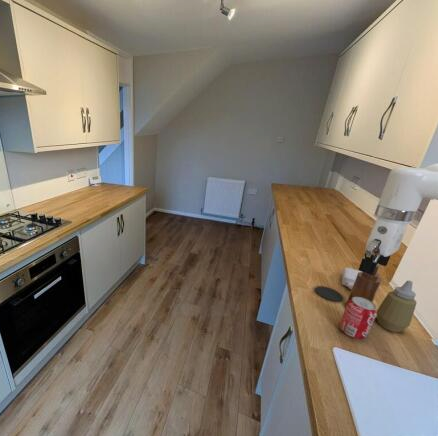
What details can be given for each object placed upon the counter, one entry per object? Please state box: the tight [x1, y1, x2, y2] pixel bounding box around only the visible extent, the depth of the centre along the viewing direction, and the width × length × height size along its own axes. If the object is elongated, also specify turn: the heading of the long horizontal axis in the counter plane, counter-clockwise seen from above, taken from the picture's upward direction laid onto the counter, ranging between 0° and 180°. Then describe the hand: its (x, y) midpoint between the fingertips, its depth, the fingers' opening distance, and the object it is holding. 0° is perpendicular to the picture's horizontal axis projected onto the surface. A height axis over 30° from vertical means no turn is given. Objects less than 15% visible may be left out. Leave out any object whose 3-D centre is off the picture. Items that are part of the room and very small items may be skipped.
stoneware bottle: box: [345, 264, 383, 307], centre depth 85 cm, size 6×6×19 cm
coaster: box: [315, 286, 344, 303], centre depth 96 cm, size 9×9×1 cm
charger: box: [341, 267, 362, 291], centre depth 100 cm, size 5×9×15 cm
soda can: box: [339, 297, 377, 340], centre depth 76 cm, size 7×7×12 cm
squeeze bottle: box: [376, 279, 417, 333], centre depth 78 cm, size 8×8×18 cm
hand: (372, 268), depth 70 cm, fingers open, 9 cm apart
